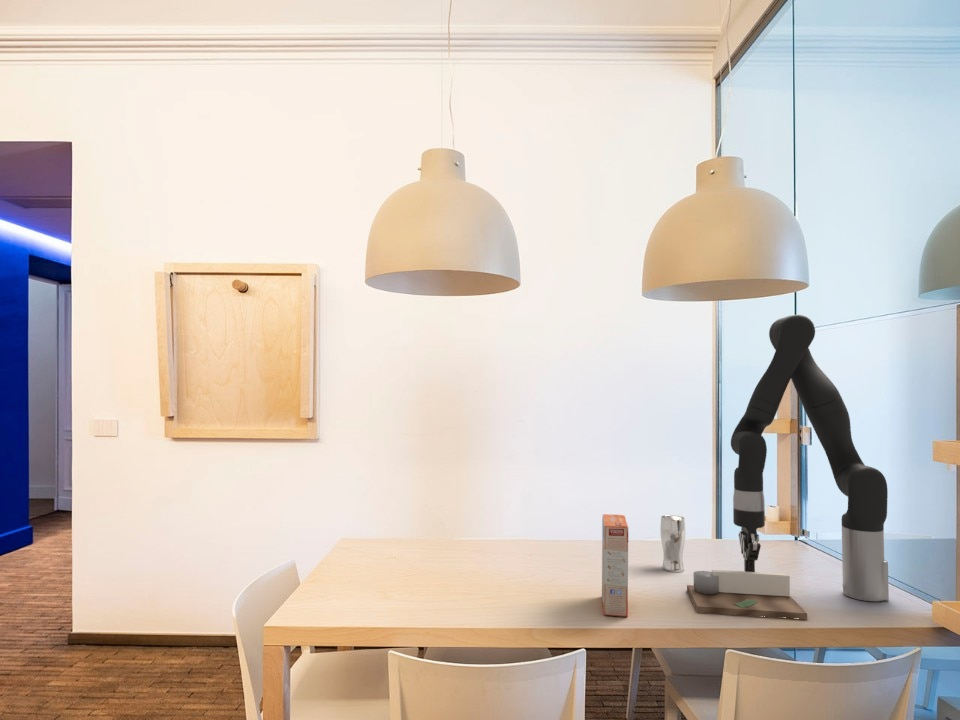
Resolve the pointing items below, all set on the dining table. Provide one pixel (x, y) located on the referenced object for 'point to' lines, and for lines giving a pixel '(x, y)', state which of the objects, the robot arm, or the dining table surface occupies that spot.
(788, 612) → the brown wooden board
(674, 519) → the beer glass
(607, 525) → the cracker box
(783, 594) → the lever handle
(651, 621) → the dining table surface
